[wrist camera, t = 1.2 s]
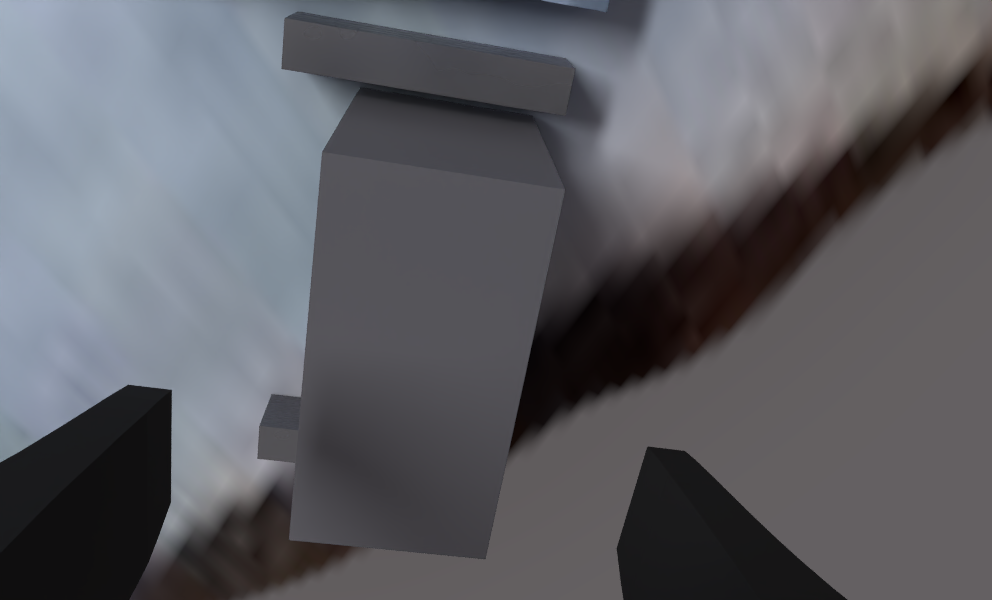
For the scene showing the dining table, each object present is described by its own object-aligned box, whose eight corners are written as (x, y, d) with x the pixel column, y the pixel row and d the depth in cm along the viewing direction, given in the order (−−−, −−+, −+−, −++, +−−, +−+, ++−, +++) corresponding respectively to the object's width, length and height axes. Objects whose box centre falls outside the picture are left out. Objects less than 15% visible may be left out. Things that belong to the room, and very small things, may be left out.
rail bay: (269, 425, 22) (257, 458, 20) (297, 11, 17) (284, 17, 16) (486, 450, 22) (489, 483, 21) (565, 58, 18) (575, 68, 17)
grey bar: (330, 385, 21) (289, 540, 16) (360, 86, 18) (322, 152, 13) (477, 403, 22) (485, 559, 16) (532, 114, 19) (565, 189, 13)
